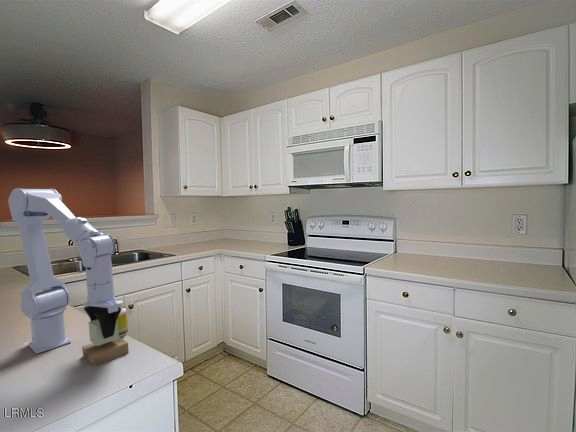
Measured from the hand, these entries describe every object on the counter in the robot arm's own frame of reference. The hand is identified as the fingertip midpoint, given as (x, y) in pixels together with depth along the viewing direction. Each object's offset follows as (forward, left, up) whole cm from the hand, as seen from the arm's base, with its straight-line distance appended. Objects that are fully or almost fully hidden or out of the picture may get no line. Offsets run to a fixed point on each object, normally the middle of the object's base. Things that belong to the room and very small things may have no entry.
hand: (104, 334), depth 79 cm
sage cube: (0, 0, -1) cm, 1 cm away
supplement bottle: (-10, +7, -6) cm, 13 cm away
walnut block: (0, 0, -6) cm, 6 cm away
